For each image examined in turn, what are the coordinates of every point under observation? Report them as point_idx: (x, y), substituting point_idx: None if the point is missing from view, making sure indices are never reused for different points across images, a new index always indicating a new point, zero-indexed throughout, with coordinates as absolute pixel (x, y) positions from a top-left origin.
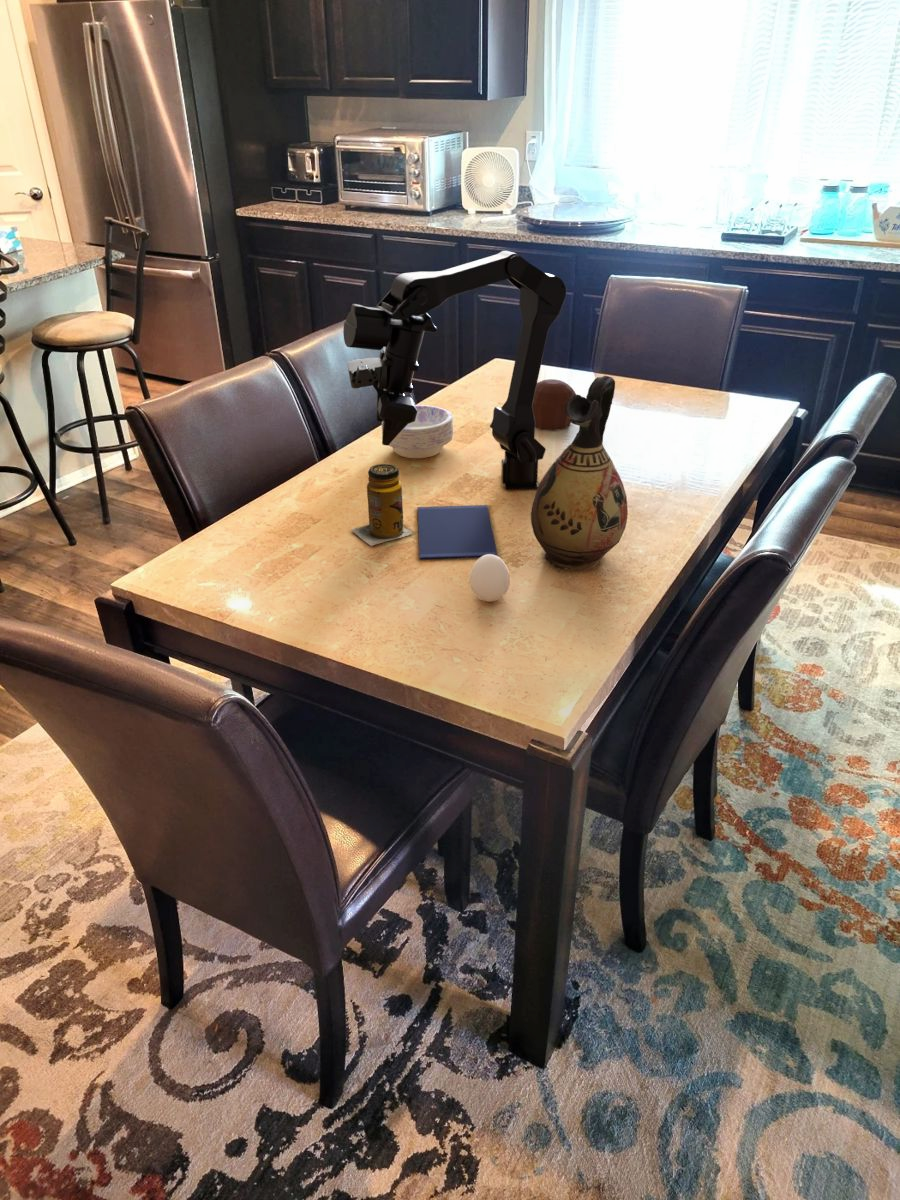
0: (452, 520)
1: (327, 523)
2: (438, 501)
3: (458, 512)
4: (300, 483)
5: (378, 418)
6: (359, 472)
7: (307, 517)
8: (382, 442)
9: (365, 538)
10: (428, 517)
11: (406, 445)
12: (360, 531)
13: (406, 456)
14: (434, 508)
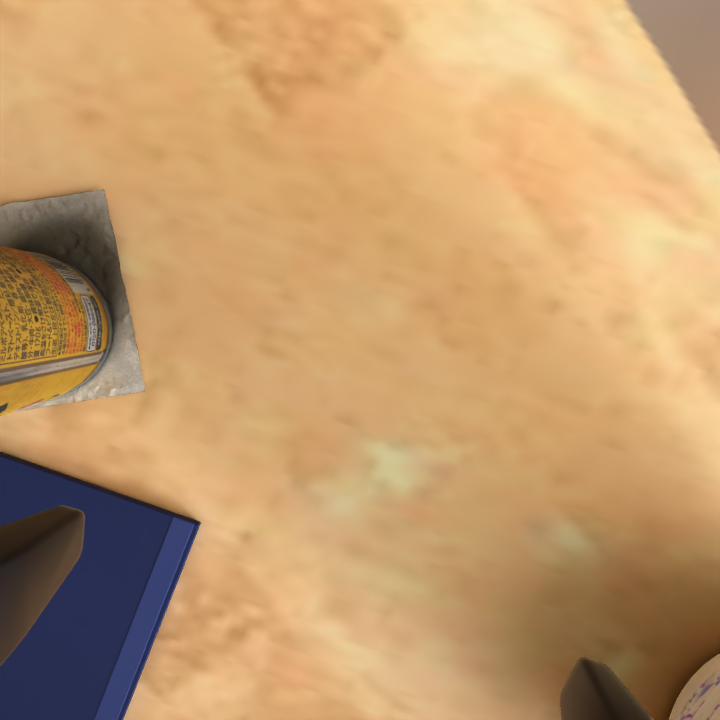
0: None
1: (230, 125)
2: (237, 623)
3: (77, 656)
4: (681, 154)
5: (584, 689)
6: (668, 429)
7: (327, 64)
8: (41, 512)
9: (6, 219)
10: None
11: (716, 703)
12: (77, 222)
13: (707, 662)
14: (154, 582)
